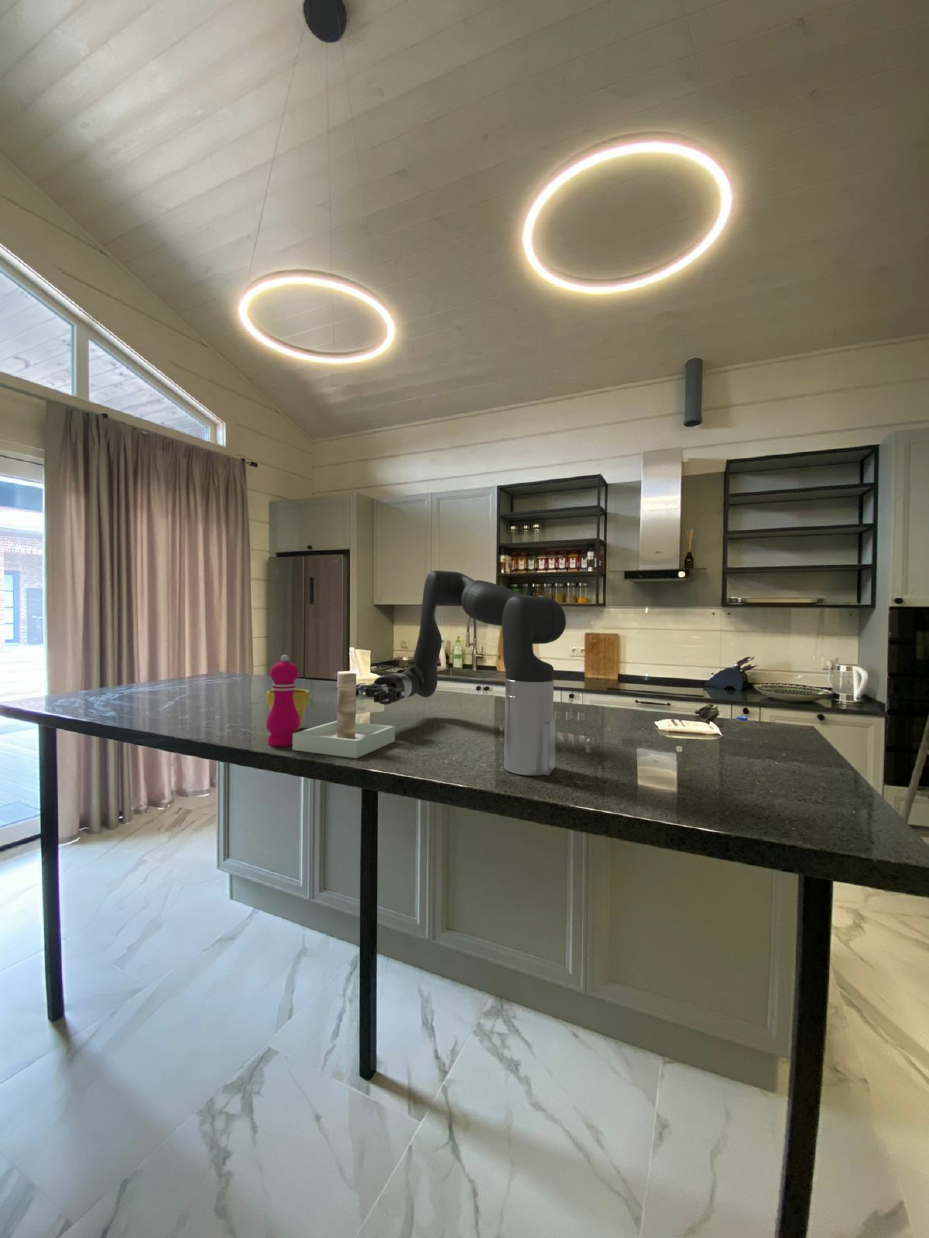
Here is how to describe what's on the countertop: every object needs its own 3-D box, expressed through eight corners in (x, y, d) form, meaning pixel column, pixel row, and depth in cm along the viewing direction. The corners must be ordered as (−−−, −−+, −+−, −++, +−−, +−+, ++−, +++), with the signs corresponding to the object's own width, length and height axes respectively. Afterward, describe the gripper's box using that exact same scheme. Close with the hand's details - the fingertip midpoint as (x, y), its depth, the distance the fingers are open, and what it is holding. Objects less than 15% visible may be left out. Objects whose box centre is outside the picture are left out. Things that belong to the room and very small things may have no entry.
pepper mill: (304, 739, 116) (306, 654, 116) (291, 747, 109) (293, 656, 109) (275, 738, 116) (277, 653, 117) (259, 746, 109) (261, 655, 109)
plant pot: (312, 725, 132) (313, 688, 132) (302, 733, 122) (303, 694, 122) (273, 724, 132) (273, 688, 132) (259, 733, 121) (260, 693, 121)
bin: (394, 741, 116) (394, 726, 116) (356, 758, 101) (356, 740, 101) (336, 734, 122) (337, 720, 122) (292, 749, 107) (292, 733, 107)
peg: (358, 744, 112) (359, 673, 113) (348, 748, 109) (349, 675, 109) (343, 742, 114) (344, 672, 114) (332, 746, 110) (334, 674, 110)
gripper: (369, 672, 134) (333, 678, 119) (417, 675, 129) (386, 682, 114) (369, 700, 134) (333, 710, 119) (416, 704, 129) (385, 715, 114)
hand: (359, 696), depth 117 cm, fingers open, 8 cm apart
